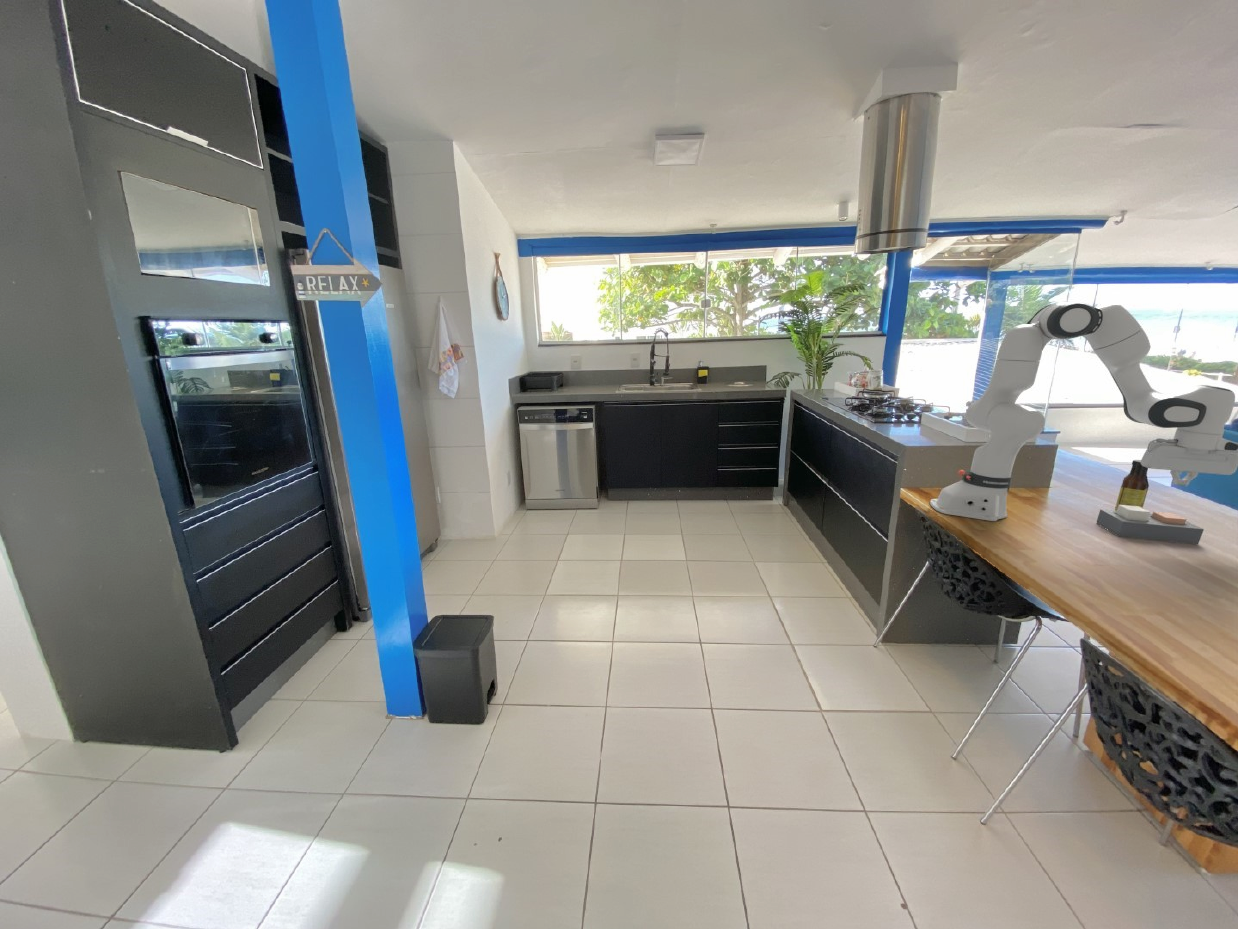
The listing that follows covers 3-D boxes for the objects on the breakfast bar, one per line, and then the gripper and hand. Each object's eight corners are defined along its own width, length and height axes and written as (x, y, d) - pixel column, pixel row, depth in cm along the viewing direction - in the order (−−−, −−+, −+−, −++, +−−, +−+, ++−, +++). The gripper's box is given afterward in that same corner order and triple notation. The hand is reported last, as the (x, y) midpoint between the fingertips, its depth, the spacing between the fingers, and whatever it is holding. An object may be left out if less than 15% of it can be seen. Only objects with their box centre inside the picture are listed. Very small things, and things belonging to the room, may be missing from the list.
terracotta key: (1161, 529, 144) (1165, 517, 143) (1149, 523, 149) (1153, 511, 148) (1182, 531, 143) (1186, 519, 142) (1169, 525, 148) (1173, 513, 146)
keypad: (1118, 536, 146) (1123, 521, 144) (1096, 523, 156) (1100, 509, 154) (1198, 544, 140) (1203, 529, 139) (1169, 530, 150) (1174, 515, 149)
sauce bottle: (1144, 520, 158) (1163, 464, 152) (1122, 519, 159) (1140, 463, 154) (1128, 513, 164) (1146, 459, 159) (1107, 512, 165) (1124, 458, 160)
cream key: (1125, 521, 147) (1129, 510, 146) (1115, 516, 151) (1118, 504, 150) (1146, 523, 145) (1150, 511, 144) (1134, 517, 150) (1138, 506, 149)
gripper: (1159, 440, 138) (1143, 484, 142) (1251, 446, 132) (1232, 492, 136) (1143, 435, 144) (1129, 478, 148) (1231, 441, 138) (1214, 485, 142)
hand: (1179, 484), depth 142 cm, fingers closed
